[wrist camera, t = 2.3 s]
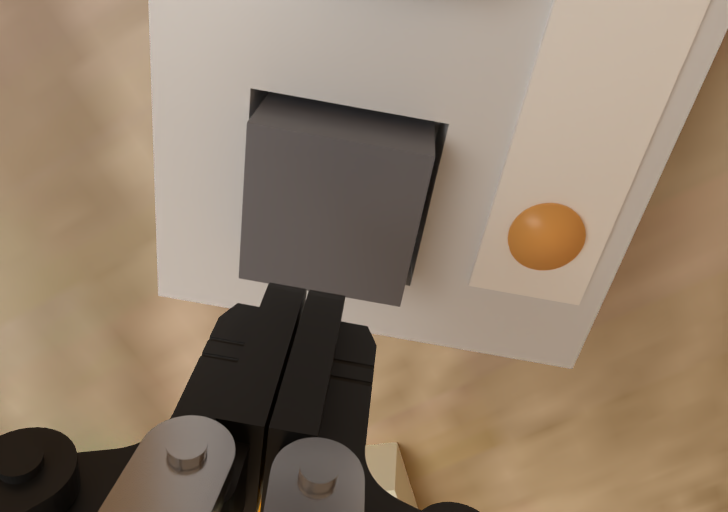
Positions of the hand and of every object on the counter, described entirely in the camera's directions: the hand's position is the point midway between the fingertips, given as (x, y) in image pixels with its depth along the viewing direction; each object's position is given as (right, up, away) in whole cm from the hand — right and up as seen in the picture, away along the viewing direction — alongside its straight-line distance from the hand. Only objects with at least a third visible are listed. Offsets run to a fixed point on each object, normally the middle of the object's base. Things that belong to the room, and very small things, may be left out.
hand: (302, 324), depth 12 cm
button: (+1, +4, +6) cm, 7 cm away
